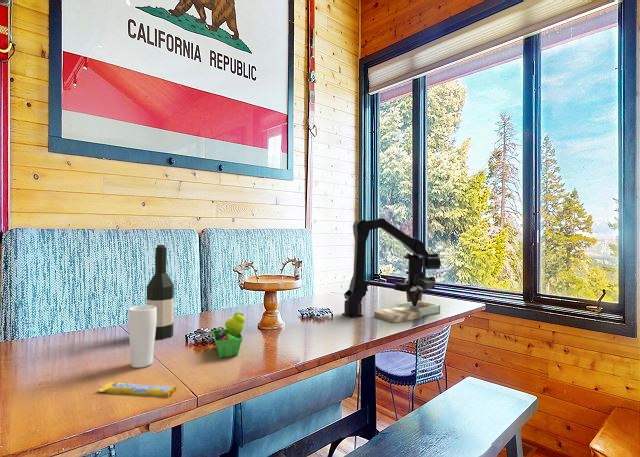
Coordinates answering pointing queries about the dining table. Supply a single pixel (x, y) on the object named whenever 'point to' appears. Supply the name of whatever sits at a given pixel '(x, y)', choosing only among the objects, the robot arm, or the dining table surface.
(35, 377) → the dining table surface
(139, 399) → the dining table surface
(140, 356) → the drinking glass
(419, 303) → the terracotta tile
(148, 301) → the wine bottle
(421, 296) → the disposable coffee cup
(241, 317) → the fruit basket
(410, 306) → the slate tile
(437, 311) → the tray
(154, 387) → the candy bar
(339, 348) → the dining table surface
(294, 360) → the dining table surface
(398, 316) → the board
